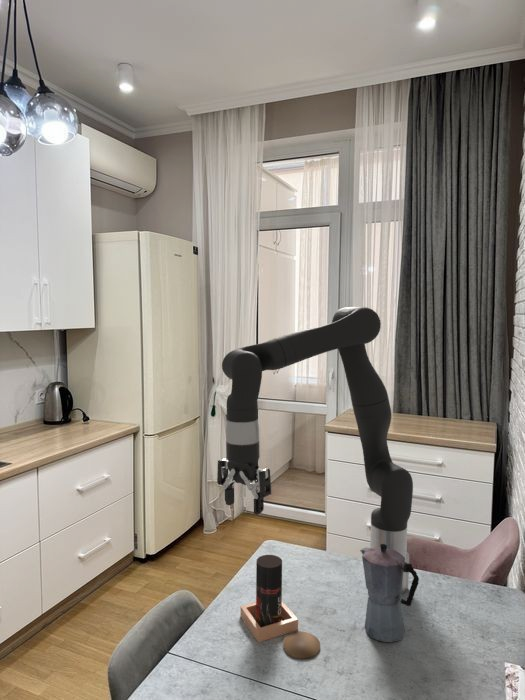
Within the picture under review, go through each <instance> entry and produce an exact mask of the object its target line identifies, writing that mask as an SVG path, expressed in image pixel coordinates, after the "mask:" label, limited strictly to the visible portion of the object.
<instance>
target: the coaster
mask: <svg viewBox="0 0 525 700" xmlns="http://www.w3.org/2000/svg"><path fill="white" fill-rule="evenodd" d="M282 647H283V650H284V652H285V653H286V654H287V655H288V656H289V657H291V658H295V659H298V660H309V659H312V658H315V657H317V655H318V654H319V653H320V650H321V641H320V640H319V639H318V637H317V636H315V635H314V634H312V633H311V632H307V631H304V630H303V631H301V630H300V631H299V630H296V631H293V632H290V633H287V635H285V637H284V638H283V643H282Z"/></svg>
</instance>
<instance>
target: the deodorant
mask: <svg viewBox="0 0 525 700" xmlns="http://www.w3.org/2000/svg"><path fill="white" fill-rule="evenodd" d="M255 567H256V571H255V573H256V574H255V575H256V579H255V580H256V582H255V586H256V587H255V594H256V595H255V598H256V600H255V602H256V615H255V621H256V622H257V623H258V625H259V626H260V627H265V626H268V625H271V624H274V623H278V622H281V621H282V616H281V613H282V601H283V600H282V598H283V595H282V594H283V593H282V591H283V560H282V558H281V557H279V556H278V555H275V554H263V555H260V556H258V557H257V559H256V565H255Z"/></svg>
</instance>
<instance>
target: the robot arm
mask: <svg viewBox="0 0 525 700" xmlns="http://www.w3.org/2000/svg"><path fill="white" fill-rule="evenodd" d="M380 319H381V318H380V316H379V314H378V313H377V311H375V310H373V309H372V308H370V307H368V306H367V307H366V306H347V307H342V308H339V309H338V310H337V311H336V312H335V313H334V315H333V317H332V319H331V323H328V324H324V325H321V326H317V327H312V328H309V329H303V330H297V331H294V332H290V333H287V334H283V335H280V336H278V337H274V338H272V339H269V340H267V341H265V342H261V343H256V344H252V345H247V346H243V347H238V348H236V349H233V350H231V351H229V352H228V353H227V354H225V356H224V358H223V359H222V363H221V368H222V372H223V374H224V375H225V376H226V377H227V378H228V379H230V380H231V393H230V394H229V395H227V398H226V426H225V451H226V452H225V456H226V457H224V458H221V459H219V460H217V473H216V475H217V476H216V477H217V478H216V480H217V481H216V482H217V484H218V485H219V486H222V488H223V489H224V501H225V505H227V506H231V505H233V504H234V503H235V487H234V485H235V484H236V483H237V484H242V486H246V487H247V489H248V491H250V492H251V494H252V495H253V514H254V515H259V514H262V512H263V511H264V509H265V504H264V501H265V499H264V498H267V497H268V496H270V495H272V486H271V485H272V481H271V470H270V468H269V467H266V468H260V467H259V460H260V455H261V454H260V424H259V405H258V398H259V396H260V389H261V386H262V385H261V384H262V377H263V372H264V371H277V370H281V369H283V368H286V367H289V366H292V365H294V364H297V363H300V362H302V361H305V360H307V359H310V358H313V357H317V356H318V355H321V354H325V353H327V352H331V351H334V350H338V353H339V356H340V359H341V361H342V364H343V369H344V374H345V378H346V382H347V385H348V390H349V394H350V399H351V405H352V406H351V407H352V410H353V414H354V417H355V421H356V427H357V429H358V435H359V440H360V442H361V447H362V455H363V463H364V471H365V480H366V482H367V485H368V488H370V491H372V492H373V493H375V494H376V495H377V496H380V507H377V508H375V509H373V510H372V511H371V514H370V542H369V544H370V545H369V548H379V547H380V544H385V545H387V549H391V550H396V551H397V552H398V553H400V554H401V555H402V556H404V557H405V562H406V563H407V564H410V554H409V552H408V551H407V545H408V544H407V543H408V522H409V519H410V517H411V513H412V505H413V503H412V502H413V495H414V485H413V484H414V483H413V478H412V474H411V473H410V472H409V471H408V470H407V469H406V468H403V467H401V465H397V464H396V463H394V462H393V460H392V457H391V455H390V450H389V446H388V435H389V429H390V426H391V422H392V409H391V403H390V399H389V395H388V391H387V388H386V386H385V384H384V382H383V380H382V379H381V377H380V376H379V374H378V372H377V371H376V369H375V367H374V365H373V364H372V362H371V360H370V358H369V356H368V352H367V349H366V344H369V343H371V342H373V341H374V340H375V339H376V338H377V337H378V335H379V333H380V331H381V325H382V323H381V320H380ZM409 574H410V572H404V573H403V582H402V589H401V592H400V596H402V595H403V594H404V593H405V592H406V590H409Z"/></svg>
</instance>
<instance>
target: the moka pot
mask: <svg viewBox="0 0 525 700" xmlns="http://www.w3.org/2000/svg"><path fill="white" fill-rule="evenodd" d="M359 552H361V554H362V557H361V559H362V566H363V567H362V568H363V573H364V580H365V581H364V582H365V588H366V589H367V595H368V596H367V603H366V610H365V611H366V612H365V621H364V630H365V631H366V633H367V635H369V636H370V637H371V638H372V639H374V640H377V641H379V642H383V643H393V642H395V643H396V642H397V641H401V640H403V638H404V637H405V634H406V626H405V621H404V614H403V606H402V605H404V606H406V607H411V606H412V603H413V600H414V596H415V593H416V591H417V588H418V585H419V580H420V577H419V576H418V574H417V571H416V570H415V569H414V567H413V564H412V563H409V564H407V563H406V562H405V557H404V556H402V555H401V554H400V553H398V552H397V551H396V550H391V549H387V545H385V544H380V547H379V548H370V547H366V546H365V547H364V548H361V549H360V550H359ZM404 572H409V574H411V575H412V577H413V579H412V581H411V586H410V588H409V592H408V596H407V597H406V599H404V598H401V595H400V592H401V589H402V582H403V573H404Z"/></svg>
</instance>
